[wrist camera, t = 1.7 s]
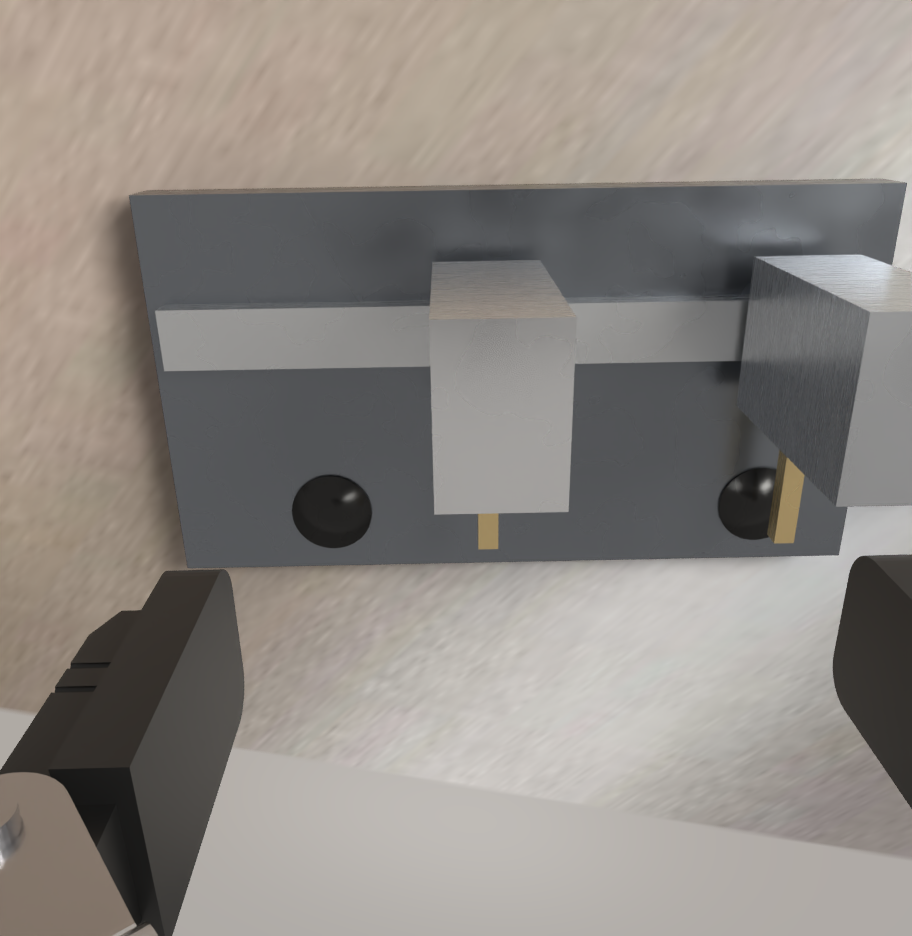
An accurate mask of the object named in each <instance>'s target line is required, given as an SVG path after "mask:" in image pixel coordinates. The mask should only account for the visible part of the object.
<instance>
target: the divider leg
mask: <svg viewBox="0 0 912 936" xmlns="http://www.w3.org/2000/svg"><path fill="white" fill-rule="evenodd" d="M576 322H577V317H576V315H575V314H574V312H573V311H572V309H571V308H570V306H569V304H568V303H567V301H566V300H565V298H564V297H563V295H562V294H561V292H560V290H559V289H558V287H557V286H556V284H555V283H554V281H553V280H552V278H551V276H550V275H549V273H548V272H547V270H546V269H545V267H544V265H543V264H542V262H541V261H540V260H511V261H452V262H432V278H431V296H430V313H429V334H430V371H431V409H432V446H433V484H434V515H440V514H478V549H498V513H542V512H569V489H570V465H571V441H572V417H573V393H574V369H575V346H576Z"/></svg>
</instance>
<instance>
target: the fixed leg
mask: <svg viewBox="0 0 912 936" xmlns="http://www.w3.org/2000/svg"><path fill="white" fill-rule="evenodd" d="M736 406H737V407H738V408H739V409H740V410H741V411H742V412H743V413H744V414H745V415H746V416H747V417H748V418H749V419H750V420H751V421H752V422H753V423H754V424H755V425H756V426H757V427H758V428H759V429H760V430H761V431H762V432H763V433H764V434H765V435H766V436H767V437H768V438H769V439H770V440H771V441H772V442H773V443H774V445H775V446H776V447H777V448H778V449H779V456H778V463H777V470H776V477H775V484H774V491H773V497H772V504H771V511H770V518H769V525H768V532H767V535H768V536H769V537H770V539H771V540H772V541H773V543H794V538H795V532H796V526H797V519H798V513H799V507H800V501H801V494H802V488H803V482H804V476H806V477H807V478H808V479H809V480H810V481H811V482H812V483H813V484H814V485H815V486H816V487H817V488H818V489H819V490H820V491H821V492H822V493H823V494H824V495H825V496H826V497H827V498H828V499H829V500H830V501H831V502H832V503H833V504H834V505H835V506H836V507H848V506H899V505H912V272H909V271H906V270H903V269H901V268H898V267H895V266H892V265H889V264H886V263H884V262H881V261H878V260H875V259H872V258H869V257H867V256H864V255H807V256H754V263H753V271H752V280H751V288H750V296H749V304H748V313H747V321H746V329H745V337H744V346H743V354H742V362H741V371H740V379H739V387H738V395H737V404H736Z"/></svg>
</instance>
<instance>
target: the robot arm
mask: <svg viewBox="0 0 912 936" xmlns="http://www.w3.org/2000/svg"><path fill="white" fill-rule="evenodd" d="M833 677H834V684H835V688H836V692H837V695H838V698H839V700H840V703H841V705H842V706H843V708H844V710H845V711H846V713H847V714H848V716H849V717H850V719H851V720H852V722H853V723H854V724H855V726H856V727H857V729H858V730H859V732H860V733H861V735H862V736H863V738H864V739H865V741H866V742H867V744H868V745H869V747H870V748H871V750H872V751H873V752H874V754H875V755H876V757H877V758H878V760H879V761H880V763H881V764H882V766H883V767H884V769H885V770H886V772H887V773H888V775H889V776H890V777H891V779H892V780H893V782H894V783H895V785H896V786H897V788H898V789H899V791H900V792H901V794H902V795H903V797H904V798H905V800H906V801H907V803H908V804H909V805H910V807H911V808H912V555H879V556H861V557H859V558H857V559H856V561H855V562H854V563H853V565H852V567H851V570H850V573H849V578H848V583H847V588H846V594H845V599H844V604H843V609H842V615H841V620H840V625H839V630H838V636H837V641H836V646H835V651H834V657H833ZM243 701H244V671H243V663H242V656H241V649H240V641H239V634H238V626H237V619H236V612H235V604H234V597H233V589H232V584H231V579H230V576H229V574H228V572H227V571H226V570H184V571H166V572H164V573H163V574H162V576H161V577H160V579H159V581H158V582H157V584H156V586H155V588H154V589H153V591H152V593H151V594H150V596H149V598H148V600H147V601H146V603H145V605H144V606H143V608H142V610H138V611H121V612H119V613H118V614H117V615H115V616H114V617H113V618H111V619H110V620H109V621H107V622H106V623H105V624H103V625H102V626H101V627H99V628H98V629H97V630H95V631H94V632H93V633H91V634H90V635H89V636H88V637H87V639H86V640H85V642H84V644H83V645H82V647H81V648H80V650H79V651H78V653H77V654H76V656H75V657H74V659H73V660H72V662H71V668H70V669H66V671H65V673H64V674H63V676H62V677H61V679H60V680H59V682H58V683H57V685H56V686H55V693H51V694H50V695H49V697H48V698H47V700H46V702H45V703H44V705H43V706H42V708H41V709H40V711H39V712H38V714H37V715H36V717H35V718H34V720H33V721H32V723H31V725H30V726H29V728H28V729H27V731H26V732H25V734H24V735H23V737H22V738H21V740H20V741H19V743H18V744H17V746H16V747H15V749H14V751H13V752H12V753H11V755H10V756H9V758H8V759H7V761H6V763H5V764H4V766H3V767H2V769H1V770H0V936H172V934H173V931H174V928H175V925H176V922H177V919H178V916H179V912H180V909H181V906H182V903H183V900H184V897H185V893H186V890H187V887H188V884H189V881H190V878H191V875H192V871H193V868H194V865H195V862H196V859H197V856H198V853H199V849H200V846H201V843H202V840H203V837H204V834H205V830H206V827H207V824H208V821H209V817H210V815H211V812H212V808H213V805H214V802H215V799H216V796H217V793H218V789H219V786H220V783H221V780H222V777H223V774H224V771H225V767H226V764H227V761H228V758H229V755H230V752H231V749H232V745H233V742H234V739H235V736H236V733H237V730H238V727H239V723H240V720H241V715H242V709H243Z"/></svg>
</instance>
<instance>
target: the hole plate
mask: <svg viewBox="0 0 912 936" xmlns="http://www.w3.org/2000/svg"><path fill="white" fill-rule="evenodd" d="M906 186H907V183H905V182H899V181H893V180H887V179H835V180H773V181H710V182H648V183H586V184H524V185H462V186H400V187H338V188H276V189H214V190H152V191H143V192H139V193H136V194H132V195H129V198H130V204H131V210H132V217H133V223H134V229H135V236H136V242H137V249H138V255H139V261H140V268H141V274H142V280H143V287H144V293H145V299H146V306H147V312H148V319H149V325H150V331H151V338H152V344H153V350H154V357H155V363H156V369H157V376H158V382H159V389H160V395H161V401H162V408H163V414H164V420H165V427H166V433H167V439H168V446H169V452H170V459H171V465H172V471H173V478H174V484H175V490H176V497H177V503H178V509H179V516H180V522H181V529H182V535H183V541H184V548H185V554H186V560H187V567H188V568H223V567H273V566H323V565H373V564H422V563H472V562H522V561H571V560H621V559H671V558H720V557H770V556H820V555H839V550H840V545H841V539H842V534H843V529H844V523H845V518H846V512H847V507H836V506H835V505H834V504H833V503H832V502H831V501H830V500H829V499H828V498H827V497H826V496H825V495H824V494H823V493H822V492H821V491H820V490H819V489H818V488H817V487H816V486H815V485H814V484H813V483H812V482H811V481H810V480H809V479H808V478H807V477H806V476H804V482H803V488H802V494H801V501H800V507H799V513H798V519H797V526H796V532H795V538H794V543H773V541H772V540H771V539H770V537H769V536H768V535H767V532H768V525H769V518H770V511H771V504H772V497H773V491H774V484H775V477H776V470H777V463H778V456H779V449H778V448H777V447H776V446H775V445H774V443H773V442H772V441H771V440H770V439H769V438H768V437H767V436H766V435H765V434H764V433H763V432H762V431H761V430H760V429H759V428H758V427H757V426H756V425H755V424H754V423H753V422H752V421H751V420H750V419H749V418H748V417H747V416H746V415H745V414H744V413H743V412H742V411H741V410H740V409H739V408H738V407H737V406H736V404H737V395H738V387H739V379H740V371H741V362H742V354H743V346H744V337H745V329H746V321H747V313H748V304H749V296H750V288H751V280H752V271H753V263H754V256H807V255H864V256H867V257H869V258H872V259H875V260H878V261H881V262H884V263H886V264H889V265H892V262H893V257H894V251H895V246H896V240H897V235H898V229H899V224H900V219H901V213H902V208H903V202H904V197H905V191H906ZM511 260H540V261H541V262H542V264H543V265H544V267H545V269H546V270H547V272H548V273H549V275H550V276H551V278H552V280H553V281H554V283H555V284H556V286H557V287H558V289H559V290H560V292H561V294H562V295H563V297H564V298H565V300H566V301H567V303H568V304H569V306H570V308H571V309H572V311H573V312H574V314H575V315H576V317H577V322H576V346H575V369H574V393H573V417H572V441H571V465H570V489H569V512H542V513H498V549H478V514H440V515H434V484H433V446H432V409H431V371H430V334H429V313H430V296H431V278H432V262H452V261H511Z"/></svg>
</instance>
